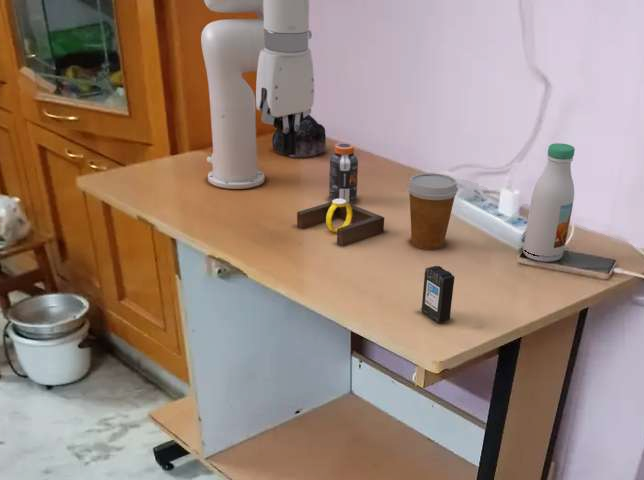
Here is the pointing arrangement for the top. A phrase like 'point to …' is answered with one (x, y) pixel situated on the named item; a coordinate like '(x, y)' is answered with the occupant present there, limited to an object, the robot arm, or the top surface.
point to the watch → (332, 208)
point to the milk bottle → (551, 206)
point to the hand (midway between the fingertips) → (286, 153)
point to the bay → (361, 219)
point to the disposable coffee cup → (430, 208)
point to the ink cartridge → (437, 293)
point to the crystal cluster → (306, 138)
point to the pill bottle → (343, 173)
